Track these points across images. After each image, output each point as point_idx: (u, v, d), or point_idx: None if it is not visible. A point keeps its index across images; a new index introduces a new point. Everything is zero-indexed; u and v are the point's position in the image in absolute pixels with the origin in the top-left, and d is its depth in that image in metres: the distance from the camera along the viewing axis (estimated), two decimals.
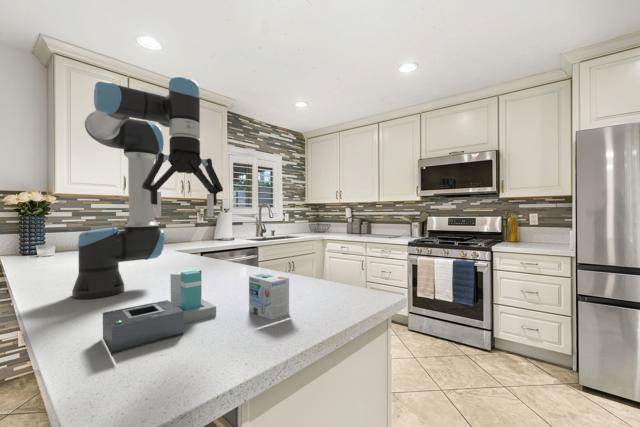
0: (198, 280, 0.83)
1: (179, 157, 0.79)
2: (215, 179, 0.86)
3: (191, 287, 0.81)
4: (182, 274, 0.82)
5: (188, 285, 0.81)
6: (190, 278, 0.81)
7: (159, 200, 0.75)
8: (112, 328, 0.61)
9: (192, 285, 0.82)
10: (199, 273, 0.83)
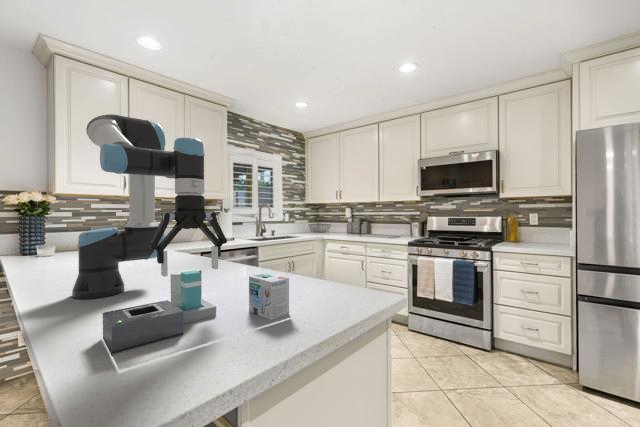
0: (198, 280, 0.83)
1: (184, 215, 0.81)
2: (219, 232, 0.87)
3: (191, 287, 0.81)
4: (182, 274, 0.82)
5: (188, 285, 0.81)
6: (190, 278, 0.81)
7: (165, 259, 0.77)
8: (112, 328, 0.61)
9: (192, 285, 0.82)
10: (199, 273, 0.83)
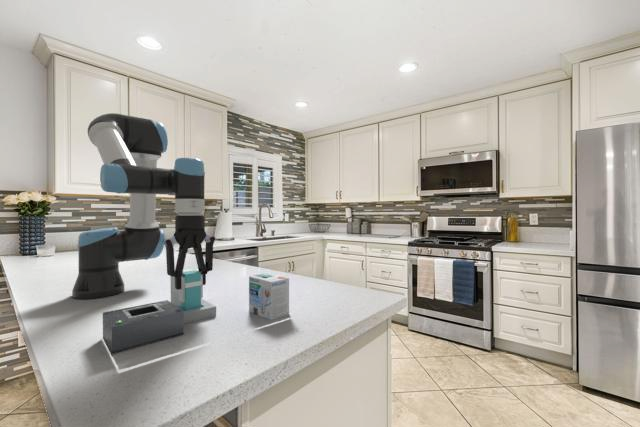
0: (198, 280, 0.83)
1: (183, 233, 0.81)
2: (209, 257, 0.86)
3: (191, 287, 0.81)
4: (182, 274, 0.82)
5: (188, 285, 0.81)
6: (190, 278, 0.81)
7: (183, 285, 0.81)
8: (112, 328, 0.61)
9: (192, 285, 0.82)
10: (199, 273, 0.83)
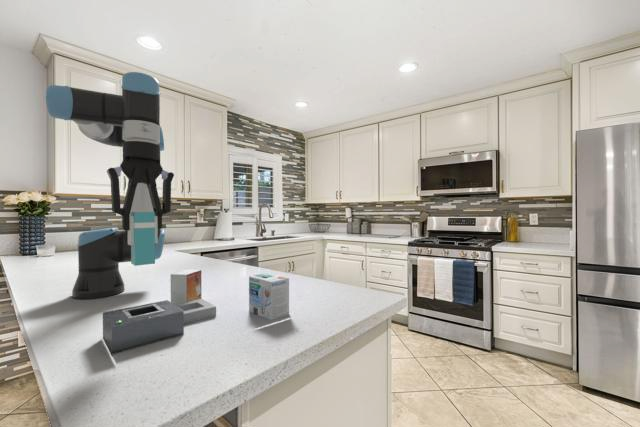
0: (151, 221, 0.69)
1: (132, 163, 0.67)
2: (167, 196, 0.72)
3: (142, 228, 0.68)
4: (132, 213, 0.69)
5: (138, 225, 0.67)
6: (140, 217, 0.68)
7: (132, 225, 0.67)
8: (112, 328, 0.61)
9: (143, 226, 0.68)
10: (152, 213, 0.69)
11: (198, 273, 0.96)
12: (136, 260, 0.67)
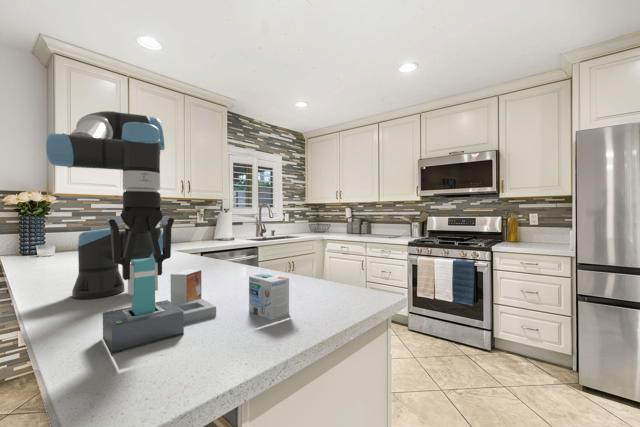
0: (151, 269, 0.69)
1: (132, 212, 0.68)
2: (167, 242, 0.72)
3: (142, 277, 0.68)
4: (132, 262, 0.69)
5: (139, 275, 0.67)
6: (140, 266, 0.68)
7: (132, 275, 0.67)
8: (112, 328, 0.61)
9: (143, 275, 0.68)
10: (153, 261, 0.69)
11: (198, 273, 0.96)
12: (136, 310, 0.67)
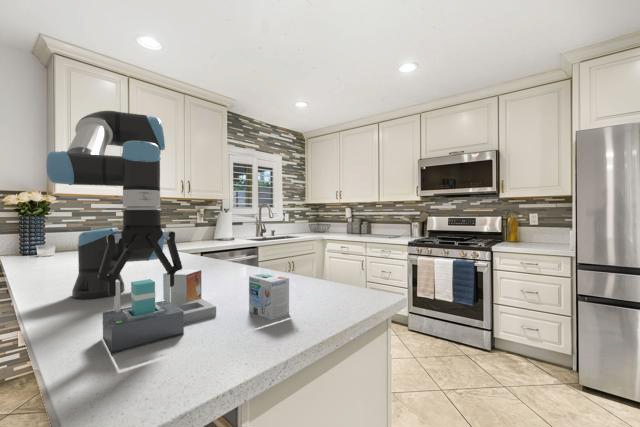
0: (152, 291, 0.69)
1: (134, 232, 0.68)
2: (175, 255, 0.74)
3: (143, 299, 0.68)
4: (132, 284, 0.69)
5: (139, 298, 0.68)
6: (140, 289, 0.68)
7: (118, 291, 0.65)
8: (112, 328, 0.61)
9: (144, 297, 0.68)
10: (153, 283, 0.70)
11: (198, 273, 0.96)
12: None
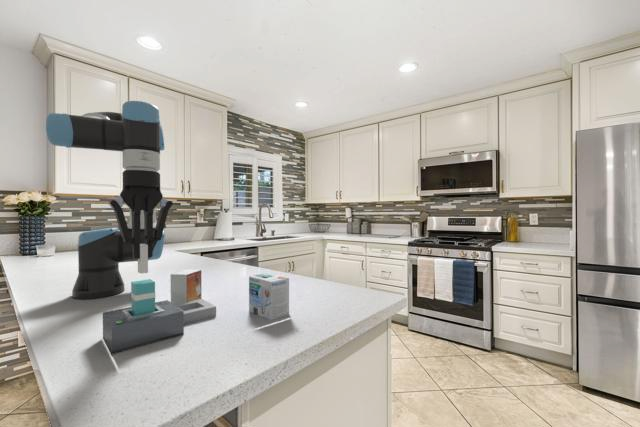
0: (152, 291, 0.69)
1: (131, 190, 0.67)
2: (160, 224, 0.71)
3: (143, 299, 0.68)
4: (132, 284, 0.69)
5: (139, 298, 0.68)
6: (140, 289, 0.68)
7: (142, 254, 0.69)
8: (112, 328, 0.61)
9: (144, 297, 0.68)
10: (153, 283, 0.70)
11: (198, 273, 0.96)
12: None
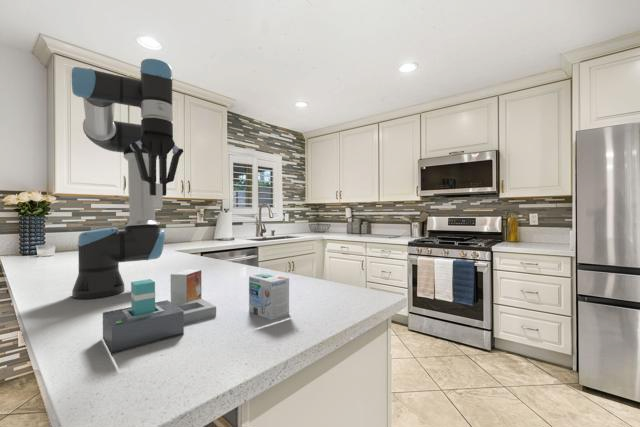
0: (152, 291, 0.69)
1: (149, 136, 0.79)
2: (173, 168, 0.83)
3: (143, 299, 0.68)
4: (132, 284, 0.69)
5: (139, 298, 0.68)
6: (140, 289, 0.68)
7: (157, 191, 0.80)
8: (112, 328, 0.61)
9: (144, 297, 0.68)
10: (153, 283, 0.70)
11: (198, 273, 0.96)
12: None
